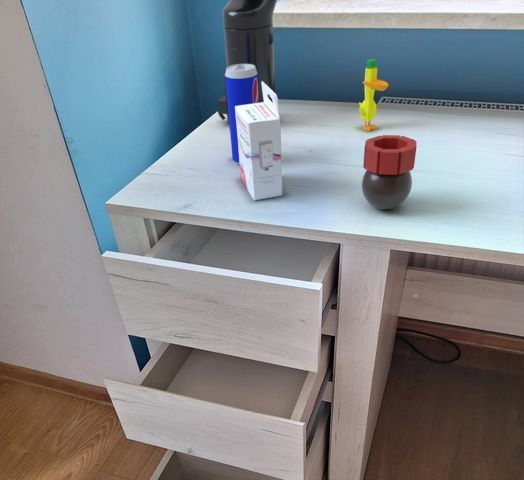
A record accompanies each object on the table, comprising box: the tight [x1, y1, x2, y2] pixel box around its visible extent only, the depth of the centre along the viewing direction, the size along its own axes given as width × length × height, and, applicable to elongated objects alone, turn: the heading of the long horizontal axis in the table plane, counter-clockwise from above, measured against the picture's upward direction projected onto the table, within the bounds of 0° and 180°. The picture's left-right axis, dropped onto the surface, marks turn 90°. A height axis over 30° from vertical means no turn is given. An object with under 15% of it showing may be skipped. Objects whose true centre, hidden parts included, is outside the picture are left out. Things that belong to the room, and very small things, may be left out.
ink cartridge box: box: [235, 81, 283, 201], centre depth 78 cm, size 9×5×15 cm, turn 17°
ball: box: [361, 169, 413, 210], centre depth 74 cm, size 7×7×7 cm
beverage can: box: [225, 64, 259, 166], centre depth 87 cm, size 5×5×15 cm
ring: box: [362, 134, 417, 175], centre depth 71 cm, size 7×7×3 cm
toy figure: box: [358, 58, 389, 132], centre depth 97 cm, size 7×4×12 cm, turn 37°
